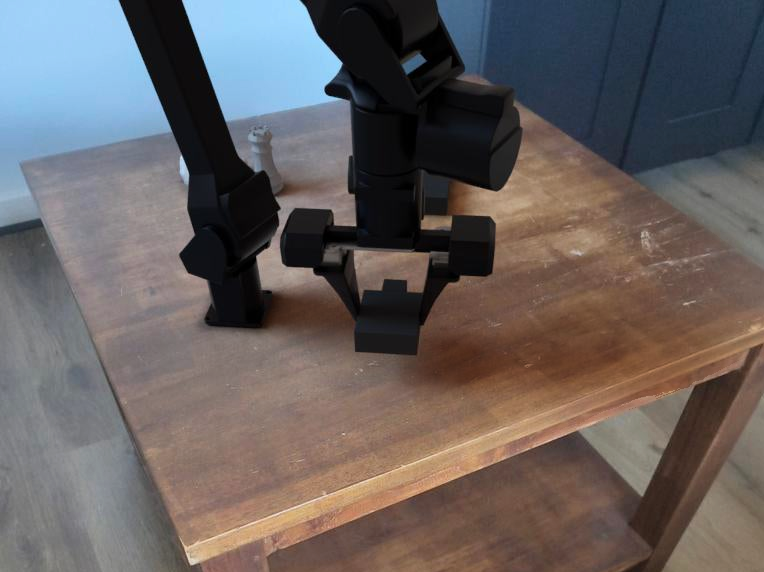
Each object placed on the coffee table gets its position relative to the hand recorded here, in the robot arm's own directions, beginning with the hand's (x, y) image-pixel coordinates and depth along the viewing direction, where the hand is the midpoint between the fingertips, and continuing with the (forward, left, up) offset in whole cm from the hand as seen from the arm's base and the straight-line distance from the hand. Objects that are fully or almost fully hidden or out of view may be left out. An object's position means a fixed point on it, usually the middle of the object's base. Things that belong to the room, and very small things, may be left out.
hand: (389, 321), depth 70 cm
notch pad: (+36, +1, -5) cm, 36 cm away
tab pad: (+1, 0, -1) cm, 2 cm away
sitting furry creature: (+38, +30, -6) cm, 49 cm away
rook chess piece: (+36, +21, -6) cm, 42 cm away
